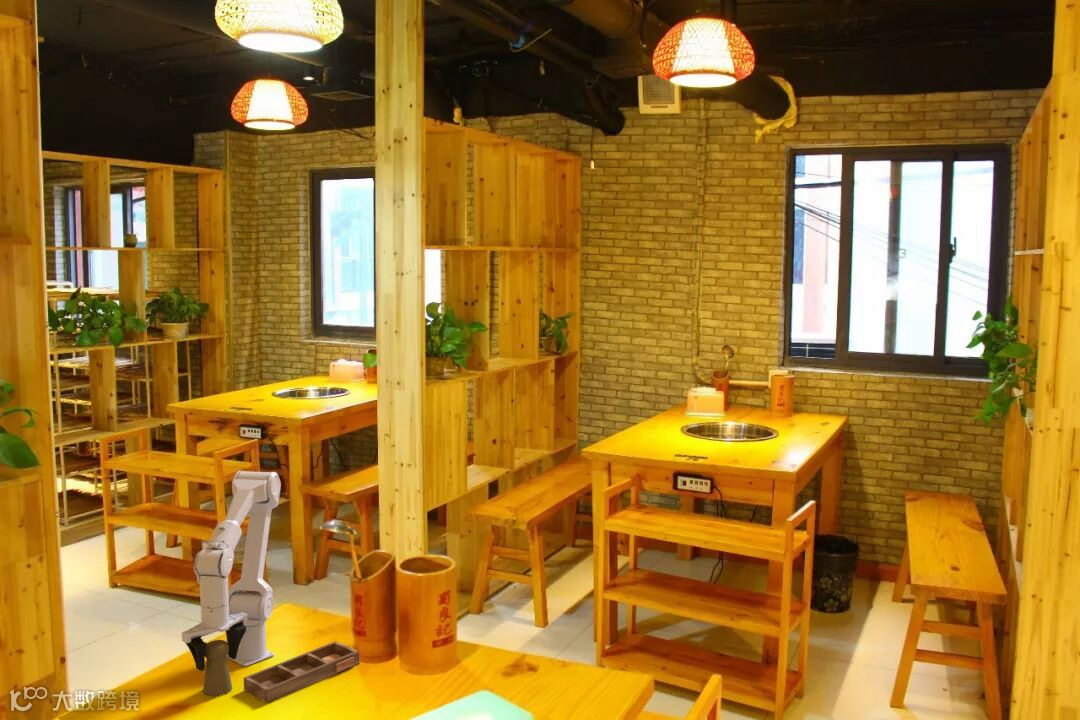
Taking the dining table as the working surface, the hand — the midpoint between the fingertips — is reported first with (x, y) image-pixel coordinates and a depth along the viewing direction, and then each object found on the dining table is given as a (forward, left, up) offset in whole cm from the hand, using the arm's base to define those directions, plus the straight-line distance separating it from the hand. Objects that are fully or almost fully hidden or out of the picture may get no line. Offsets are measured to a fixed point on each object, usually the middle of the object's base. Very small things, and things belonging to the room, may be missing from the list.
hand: (216, 663), depth 197 cm
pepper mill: (0, 0, -6) cm, 6 cm away
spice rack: (+9, +16, -6) cm, 19 cm away
